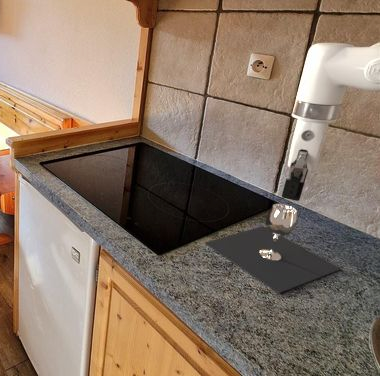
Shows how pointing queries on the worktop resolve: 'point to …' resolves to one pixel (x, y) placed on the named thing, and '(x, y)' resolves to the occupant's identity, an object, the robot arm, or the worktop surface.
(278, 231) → the wineglass
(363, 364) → the worktop surface
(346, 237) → the worktop surface
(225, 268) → the worktop surface
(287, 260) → the placemat
